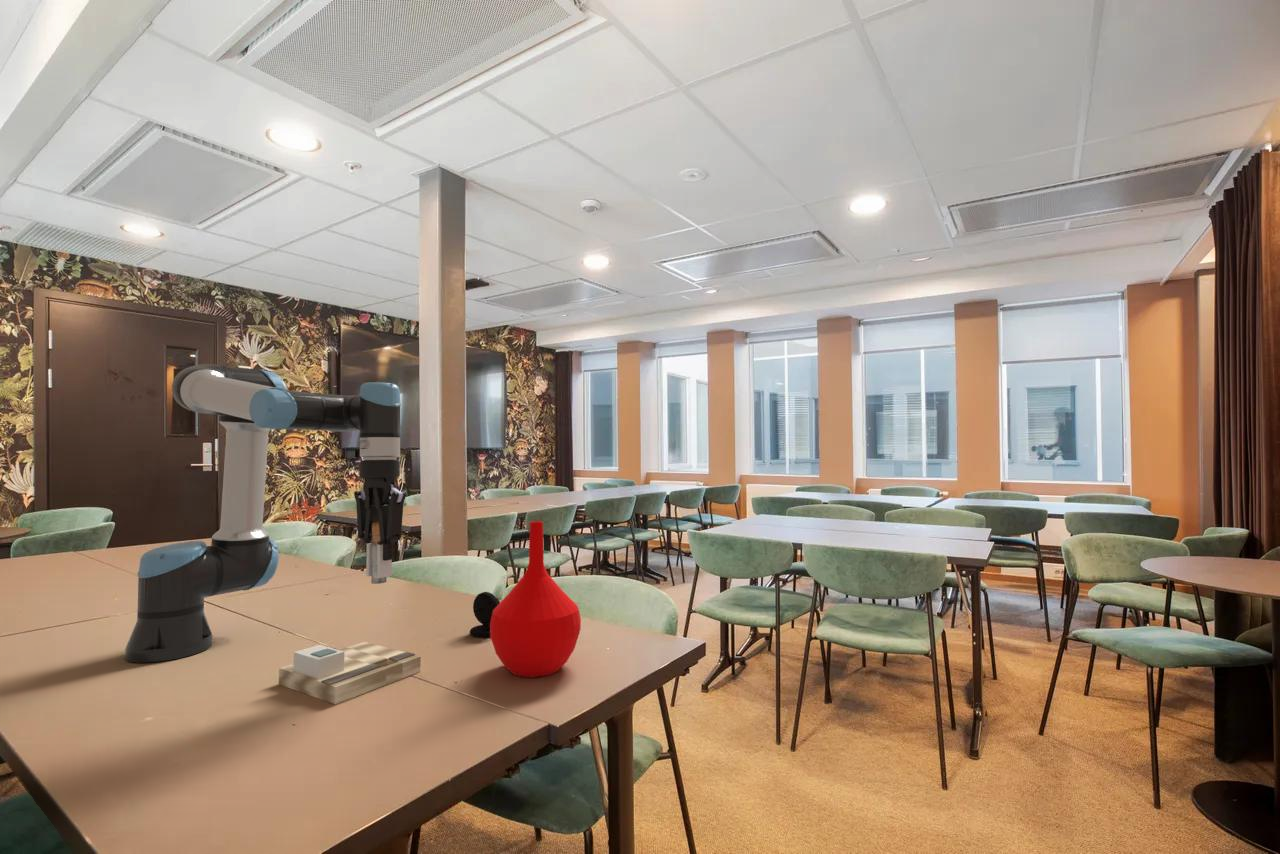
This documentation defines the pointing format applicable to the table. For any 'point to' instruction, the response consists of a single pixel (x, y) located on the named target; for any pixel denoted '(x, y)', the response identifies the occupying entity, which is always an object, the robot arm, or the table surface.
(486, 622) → the webcam
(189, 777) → the table surface
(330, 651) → the block
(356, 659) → the panel
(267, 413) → the robot arm
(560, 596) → the vase
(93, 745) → the table surface
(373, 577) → the silver and copper cylinder
